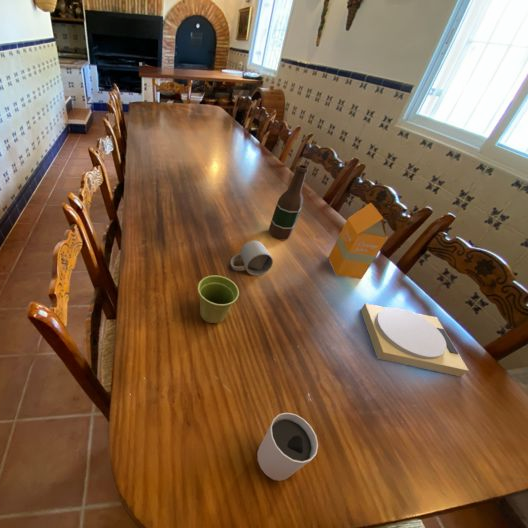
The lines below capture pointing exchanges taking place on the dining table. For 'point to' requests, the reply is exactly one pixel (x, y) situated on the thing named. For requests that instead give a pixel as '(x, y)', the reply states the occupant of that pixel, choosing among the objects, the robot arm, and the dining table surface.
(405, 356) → the scale
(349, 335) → the dining table surface
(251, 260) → the ceramic mug
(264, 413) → the dining table surface
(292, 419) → the white cup
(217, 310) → the plant pot
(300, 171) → the beer bottle
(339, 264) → the orange juice
